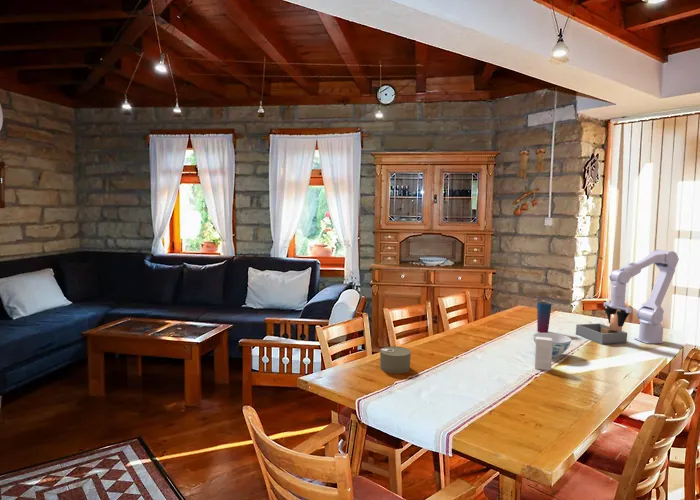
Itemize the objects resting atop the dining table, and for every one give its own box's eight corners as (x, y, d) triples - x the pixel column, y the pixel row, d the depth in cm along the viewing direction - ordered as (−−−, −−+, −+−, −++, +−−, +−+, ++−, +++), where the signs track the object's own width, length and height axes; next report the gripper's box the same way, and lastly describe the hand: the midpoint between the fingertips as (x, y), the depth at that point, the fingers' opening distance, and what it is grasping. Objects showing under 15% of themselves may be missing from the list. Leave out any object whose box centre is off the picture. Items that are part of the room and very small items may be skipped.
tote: (598, 333, 241) (599, 323, 240) (626, 343, 224) (627, 332, 223) (575, 334, 238) (576, 324, 237) (601, 344, 221) (602, 334, 220)
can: (406, 375, 177) (406, 357, 176) (375, 370, 181) (375, 353, 180) (413, 365, 188) (414, 348, 187) (384, 361, 192) (385, 344, 192)
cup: (547, 330, 245) (549, 301, 243) (551, 333, 238) (553, 304, 236) (533, 329, 245) (535, 301, 244) (537, 333, 239) (539, 303, 237)
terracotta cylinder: (616, 327, 226) (617, 313, 225) (624, 330, 221) (625, 315, 220) (607, 328, 225) (608, 313, 225) (614, 330, 220) (615, 316, 220)
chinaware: (575, 355, 204) (576, 337, 204) (562, 363, 194) (563, 344, 193) (540, 347, 215) (541, 330, 214) (526, 354, 204) (527, 337, 203)
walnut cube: (609, 337, 231) (610, 327, 231) (616, 340, 226) (617, 330, 226) (600, 337, 230) (601, 327, 230) (607, 340, 225) (608, 330, 225)
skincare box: (550, 367, 188) (552, 337, 187) (551, 370, 184) (552, 340, 183) (533, 365, 190) (535, 336, 189) (534, 368, 186) (536, 338, 185)
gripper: (599, 293, 228) (597, 321, 229) (623, 299, 214) (621, 329, 215) (611, 293, 229) (609, 320, 231) (636, 299, 215) (633, 328, 217)
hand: (615, 324), depth 223 cm, fingers closed on terracotta cylinder, 5 cm apart
